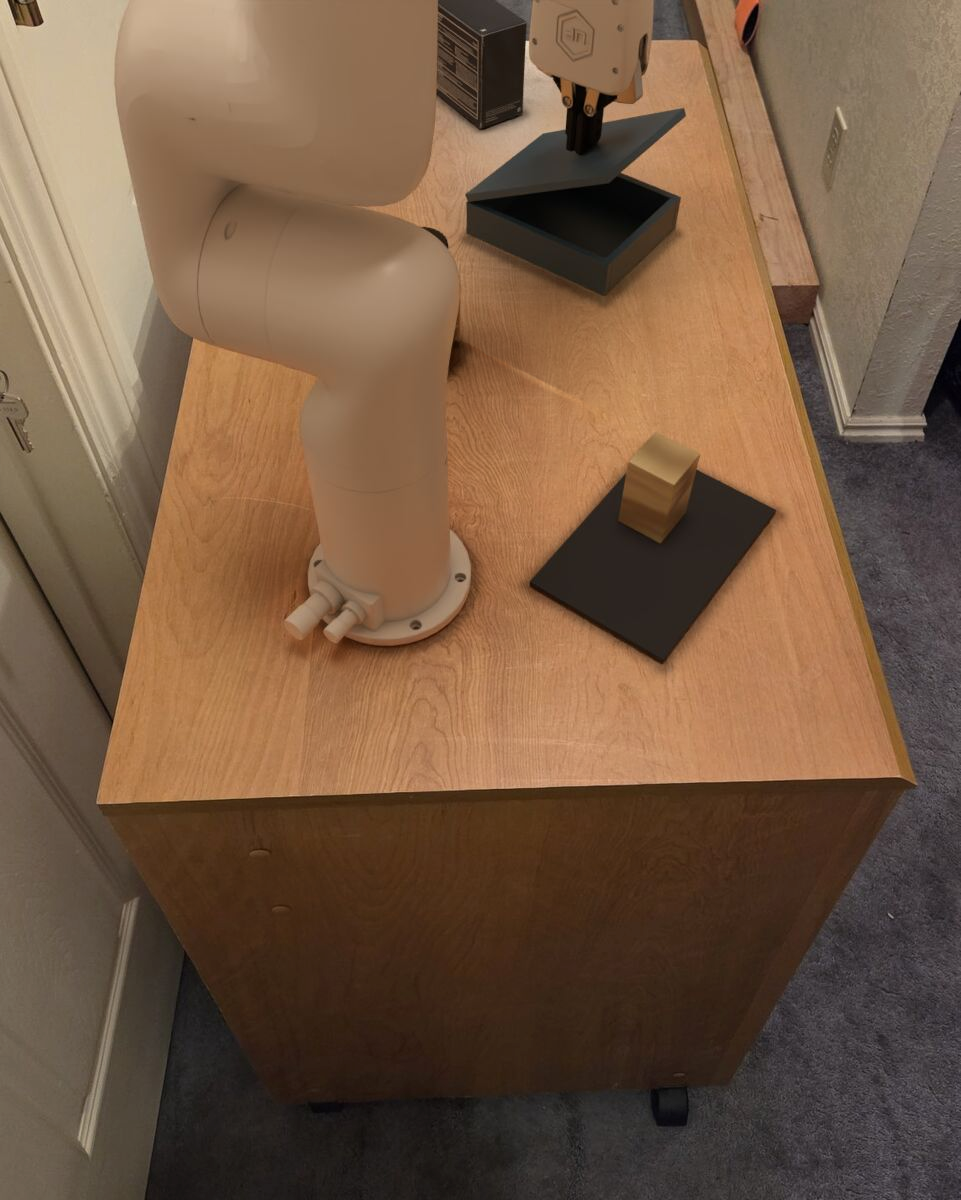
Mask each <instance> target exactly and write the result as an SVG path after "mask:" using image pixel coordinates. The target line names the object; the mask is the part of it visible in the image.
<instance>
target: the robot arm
mask: <svg viewBox="0 0 961 1200" xmlns="http://www.w3.org/2000/svg"><path fill="white" fill-rule="evenodd" d="M654 6H655V0H532V6H531V7H532V8H531V14H530V15H531V16H530V26H529V37H528V56H529V60H530V62H531V63H532V64H533V66H535V68H536V69H537V70H539V71H540V72H541V73H543V74H544V75H546V76H548V77H549V78H550V79H551V78H552V80H553V82H554V84H555V86H556V87H557V89H558V90H559V93H560V95H561V103H562V106H563V107H565V108H566V116H565V118H566V119H565V129H564V130H565V133H566V135H567V142H566V150H568V151H571V152H572V151H575V152H576V154H578V155H583V154H584V153H585V152H586V151H588V150H589V149H590V148H591V147H592V146H594V145H595V144H597V143H598V141H599V140H600V137H601V132H602V123H603V120H604V111H605V108H606V107H608V106H609V105H611V104H612V103H617V104H626V105H634V104H636V102H638V101H639V100H640V99H642V97H643V96H644V89H643V76H644V75H645V74H646V72H647V70H648V66H649V61H650V56H651V50H652V39H653V30H654V29H653V28H654V11H655V10H654V8H655V7H654ZM437 30H438V0H129V2H128V3H127V5H126V8H125V10H124V13H123V15H122V19H121V22H120V26H119V30H118V35H117V42H116V47H115V48H116V49H115V54H114V76H113V77H114V81H113V83H114V95H115V106H116V111H117V117H118V118H117V119H118V123H119V129H120V134H121V139H122V144H123V148H124V153H125V158H126V162H127V168H128V171H129V176H130V181H131V186H132V190H133V195H134V199H135V205H136V208H137V213H138V219H139V223H140V227H141V231H142V237H143V240H144V246H145V251H146V255H147V260H148V263H149V267H150V272H151V276H152V280H153V284H154V287H155V290H156V294H157V296H158V299H159V301H160V302H159V303H161V306H162V308H163V310H164V312H165V314H166V315H167V317H168V318H169V320H170V321H171V322H172V323H173V324H174V326H176V327H177V328H178V329H179V330H180V331H181V332H182V333H184V334H185V335H187V336H189V337H191V338H192V339H195V340H197V341H198V342H201V343H204V344H206V345H209V346H213V347H216V348H219V349H224V350H226V351H228V352H233V353H237V354H241V355H244V356H247V357H251V358H255V359H259V360H262V361H266V362H270V363H273V364H276V365H280V366H282V367H285V368H288V369H290V370H294V371H298V372H301V373H306V374H308V375H311V376H312V377H315V378H317V379H316V380H315V382H314V383H313V384H312V386H311V387H310V389H309V390H308V393H307V394H306V396H305V398H304V400H303V402H302V406H301V410H300V412H299V413H300V414H299V423H298V428H299V437H300V438H299V439H300V443H301V448H302V449H301V450H302V453H303V457H304V463H305V468H306V473H307V479H308V483H309V488H310V494H311V498H312V504H313V509H314V510H313V511H314V514H315V519H316V526H317V530H318V536H319V541H320V542H319V544H318V545H317V546H316V548H315V550H314V552H313V554H312V556H311V559H310V561H309V565H308V570H307V586H308V591H309V595H310V596H309V597H308V598H307V599H306V600H305V601H304V602H303V603H302V604H299V605H298V606H297V608H295V609H294V610H293V611H292V612H291V613H290V614H289V615H288V616H287V617H286V618H285V619H284V620H283V622H282V623H283V626H284V629H286V631H287V632H288V633H289V634H290V635H291V636H292V637H294V639H297V640H299V641H303V640H304V639H305V638H306V637H307V636H308V635H309V634H310V633H311V632H312V631H313V630H314V629H315V628H316V627H317V626H318V625H319V624H320V622H321V620H322V621H324V622H325V623H326V624H327V625H326V627H324V629H323V630H322V633H323V635H324V637H325V638H326V639H327V640H328V641H329V642H331V643H333V644H339V642H340V641H341V640H342V639H343V638H344V637H345V638H348V639H351V640H352V641H356V642H359V643H361V644H367V645H372V646H389V647H393V646H401V645H406V644H410V643H414V642H418V641H420V640H424V639H426V638H429V637H430V636H433V635H435V634H436V633H438V632H439V631H440V630H442V629H444V628H445V627H446V626H447V625H449V624H450V623H451V622H452V621H453V620H454V619H455V617H457V615H458V614H459V613H460V612H461V611H462V609H463V607H464V605H465V603H466V602H467V599H468V596H469V594H470V590H471V584H472V564H471V560H470V556H469V552H468V550H467V549H466V547H465V545H464V543H463V541H462V540H461V539H460V537H459V536H458V534H456V533H455V532H454V530H453V529H451V522H450V521H451V519H450V518H451V517H450V485H449V484H450V483H449V453H448V452H449V451H448V450H449V449H448V428H447V427H448V424H447V423H448V421H447V392H448V391H447V389H448V376H449V370H448V367H449V360H450V354H451V348H452V342H453V337H454V331H455V326H456V320H457V315H458V308H459V300H460V301H461V277H460V278H459V276H460V272H459V268H458V265H457V263H456V259H455V257H454V256H453V254H452V252H451V251H450V250H449V247H448V248H447V247H446V246H445V245H444V244H443V243H442V242H441V241H440V240H439V239H438V238H437V237H435V236H434V235H433V234H431V233H430V232H428V231H427V230H425V229H423V228H421V227H422V226H420V227H419V225H417V224H416V223H413V222H410V221H408V220H405V219H403V218H401V217H398V216H394V215H391V214H388V213H385V212H381V211H377V210H374V209H369V207H370V208H373V207H385V206H389V205H394V204H397V203H399V202H402V201H403V200H405V199H406V198H408V197H409V196H410V195H411V194H412V193H413V192H414V191H415V190H417V188H418V187H419V186H420V184H421V182H422V181H423V178H424V177H425V175H426V173H427V170H428V167H429V164H430V161H431V156H432V152H433V151H432V150H433V143H434V136H435V127H436V126H435V125H436V112H437V111H436V110H437V94H436V86H437Z"/></svg>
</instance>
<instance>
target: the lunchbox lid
mask: <svg viewBox="0 0 961 1200" xmlns="http://www.w3.org/2000/svg"><path fill="white" fill-rule="evenodd" d="M686 113H687V112H686V109H685V108H684V107H681V108H675V109H669V110H664V111H659V112H653V113H649V114H648V113H647V114H641V115H637V116H632V117H625V118H620V119H615V120H610V121H604V122H602V132H601V137H600V140H599V141H598V143H597V144H595V145H594V146H592V147H591V148H590V149H589V150H588V151H586V152H585V153H584V154H583V155H578V154H576V152H575V151H572V152H571V151H568V150H566V142H567V135H566V133H565V129H560V130H555V131H549V132H544V133H542V134H540V135H539V136H538V137H537V138H535V139H534V140H533V141H531V142H530V143H529V144H528V145H526V146H525V147H524V148H523V149H521V150H520V151H518V152H517V153H516V154H515V155H514V156H512V157H511V158H510V159H508V160H507V161H505V163H503V164H501V166H500V167H498V168H497V169H495V170H494V171H493V172H492V173H490V174H489V175H488V176H487V177H486V178H484V179H483V180H482V181H480V182H479V183H477V184H476V185H475V186H474V187H472V188H471V189H470V190H469V191H468V192H466V193H465V194H464V196H465V198H466V202H471V201H478V200H486V199H493V198H501V197H509V196H516V195H524V194H531V193H539V192H547V191H554V190H562V189H569V188H577V187H584V186H592V185H600V184H607V183H609V182H611V181H612V180H613V179H614V178H615V177H616V176H617V175H619V174H620V173H622V172H623V171H624V170H626V169H627V168H628V167H629V166H630V165H632V163H634V162H635V161H636V160H637V159H639V158H640V157H641V156H642V155H643V154H644V153H645V152H647V151H648V150H649V149H650V148H651V147H653V146H654V145H655V144H656V143H657V142H658V141H660V139H661V138H663V137H664V136H665V135H666V134H668V132H670V131H671V130H672V129H673V128H674V127H675V126H677V125H678V124H679V123H681V121H682V120H683V119H685V118H686V117H687V114H686Z"/></svg>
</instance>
